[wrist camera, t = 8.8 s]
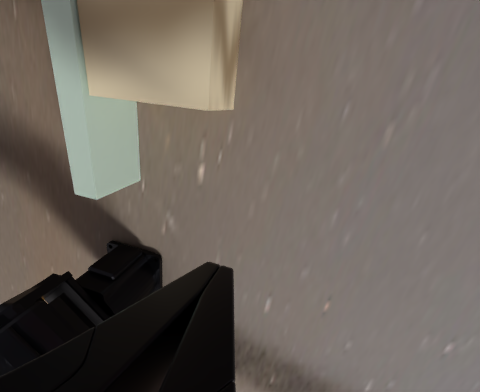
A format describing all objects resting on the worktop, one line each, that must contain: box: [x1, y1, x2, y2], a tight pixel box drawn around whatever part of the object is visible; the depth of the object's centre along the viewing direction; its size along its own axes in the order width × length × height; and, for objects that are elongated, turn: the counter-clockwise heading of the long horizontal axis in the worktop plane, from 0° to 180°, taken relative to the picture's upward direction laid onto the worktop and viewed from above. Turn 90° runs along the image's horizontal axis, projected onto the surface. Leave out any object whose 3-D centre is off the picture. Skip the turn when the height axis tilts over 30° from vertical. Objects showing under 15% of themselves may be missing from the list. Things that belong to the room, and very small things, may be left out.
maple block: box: [77, 0, 243, 111], centre depth 14 cm, size 8×8×5 cm
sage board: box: [41, 0, 141, 200], centre depth 16 cm, size 20×2×5 cm, turn 174°
